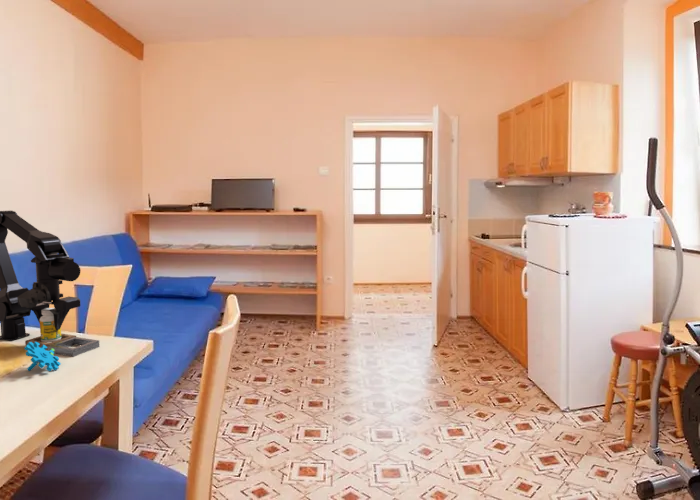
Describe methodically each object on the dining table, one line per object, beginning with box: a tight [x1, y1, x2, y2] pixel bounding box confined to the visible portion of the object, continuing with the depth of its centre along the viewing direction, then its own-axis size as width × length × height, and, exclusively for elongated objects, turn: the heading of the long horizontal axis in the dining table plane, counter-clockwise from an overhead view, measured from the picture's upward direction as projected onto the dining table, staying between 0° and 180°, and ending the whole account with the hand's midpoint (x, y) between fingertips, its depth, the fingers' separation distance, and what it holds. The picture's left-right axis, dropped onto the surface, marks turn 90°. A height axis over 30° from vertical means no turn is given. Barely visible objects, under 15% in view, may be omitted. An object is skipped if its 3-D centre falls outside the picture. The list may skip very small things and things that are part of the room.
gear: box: [23, 342, 62, 372], centre depth 130 cm, size 11×6×10 cm
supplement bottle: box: [39, 307, 62, 343], centre depth 150 cm, size 5×5×10 cm
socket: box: [48, 336, 100, 358], centre depth 146 cm, size 9×9×2 cm
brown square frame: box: [24, 333, 77, 351], centre depth 150 cm, size 9×9×2 cm
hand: (50, 328), depth 150 cm, fingers closed on supplement bottle, 5 cm apart
